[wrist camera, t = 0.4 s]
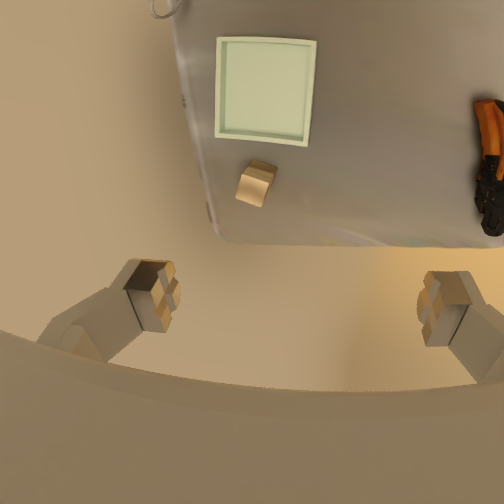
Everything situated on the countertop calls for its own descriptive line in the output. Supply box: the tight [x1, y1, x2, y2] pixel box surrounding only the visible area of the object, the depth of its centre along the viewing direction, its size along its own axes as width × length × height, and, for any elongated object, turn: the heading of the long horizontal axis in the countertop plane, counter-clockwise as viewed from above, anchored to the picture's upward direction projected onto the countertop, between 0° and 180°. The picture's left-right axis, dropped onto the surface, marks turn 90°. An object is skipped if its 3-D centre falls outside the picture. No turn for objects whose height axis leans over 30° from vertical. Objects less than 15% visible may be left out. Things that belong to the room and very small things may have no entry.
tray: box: [215, 37, 318, 147], centre depth 47 cm, size 18×16×4 cm
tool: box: [475, 99, 504, 237], centre depth 41 cm, size 8×23×15 cm, turn 14°
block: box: [236, 160, 277, 207], centre depth 55 cm, size 4×4×8 cm
